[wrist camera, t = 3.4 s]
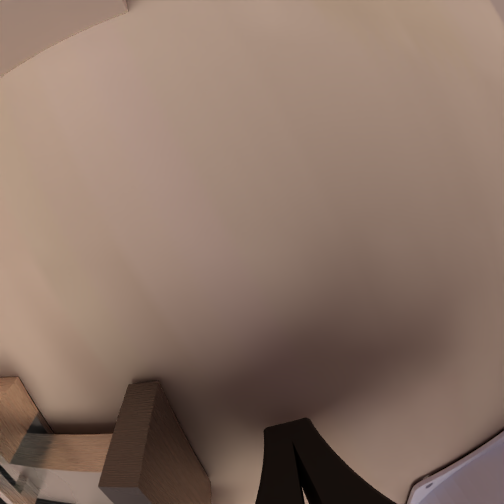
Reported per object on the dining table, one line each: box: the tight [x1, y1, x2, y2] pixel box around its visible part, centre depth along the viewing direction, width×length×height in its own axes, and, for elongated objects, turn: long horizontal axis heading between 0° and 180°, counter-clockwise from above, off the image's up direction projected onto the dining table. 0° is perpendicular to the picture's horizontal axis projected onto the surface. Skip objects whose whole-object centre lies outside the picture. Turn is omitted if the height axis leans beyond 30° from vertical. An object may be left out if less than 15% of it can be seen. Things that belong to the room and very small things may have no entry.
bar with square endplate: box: [0, 381, 212, 504], centre depth 7 cm, size 7×6×4 cm
